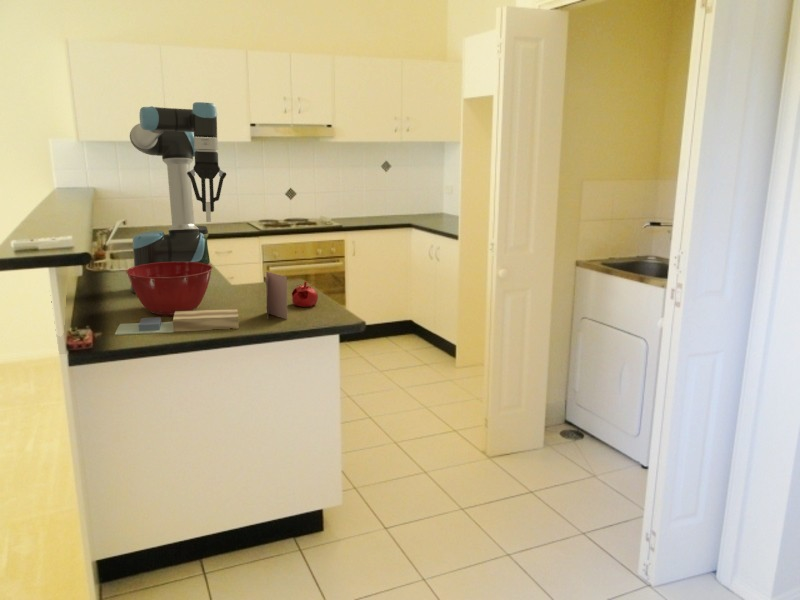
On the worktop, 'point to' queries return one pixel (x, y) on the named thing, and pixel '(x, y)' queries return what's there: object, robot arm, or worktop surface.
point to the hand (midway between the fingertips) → (208, 221)
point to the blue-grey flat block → (150, 324)
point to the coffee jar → (205, 257)
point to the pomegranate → (304, 296)
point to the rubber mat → (134, 329)
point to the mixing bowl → (170, 285)
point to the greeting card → (276, 295)
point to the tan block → (205, 320)
